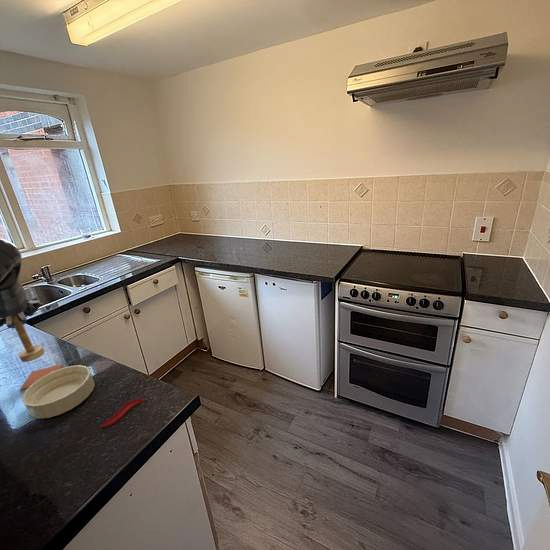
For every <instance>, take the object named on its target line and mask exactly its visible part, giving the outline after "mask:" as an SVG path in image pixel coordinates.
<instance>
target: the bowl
mask: <svg viewBox="0 0 550 550" xmlns="http://www.w3.org/2000/svg"><path fill="white" fill-rule="evenodd" d="M95 385H96V383H95V379H94V377H93V375H92V372H91V369H90V368H89V367H87V366H86V365H81V364H78V365H77V364H75V365H69V366H65V367H62V368H61V369H59V370H56V371H53V372H51V373H49V374H47V375H45V376H43V377H42V378H40V379H39V380H37V381H36V382H34V383H33V384H32V385H31V386H30V387H29V388H28V389H25V390H24V393H23V394H22V399H21V401H22V403H23V405H24V407H25V409H26V411H27V413H28V414H29V415H30V417H31V418H34V419H39V420H40V419H50V418H53V417H56V416H59V415H62V414H64V413H67V412H68V411H70V410H73V409H74V408H75V407H77V406H79V405H80V404H82V403H83V402H84V401H85V400H86V399H87V398H89V396H90V395H91V393H92V392H93V391H94V388H95Z"/></svg>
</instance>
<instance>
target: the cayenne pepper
mask: <svg viewBox="0 0 550 550" xmlns="http://www.w3.org/2000/svg"><path fill="white" fill-rule="evenodd" d="M145 402H147V399H145V398H137V399H136V398H135V399H131V400H129V401H127V402H125V403H124V404H123V405H122V406H121V407H120V408H119V409H118V411H116V412H115V413H114V414H112V415H111V416H110V417H109V418H107V420H106V421H105V422H104V423H102V424H101V425H99V426H98V427H99V429H101V428H107V427H111V426H113V425H114V424H117V422H119V421H120V420H122V419H123V418H124V417H125V416H126V415H127V413H128V412H130V411H131V410H132V409H133V408H134V407H135V406H137V405H139V404H141V403H145Z"/></svg>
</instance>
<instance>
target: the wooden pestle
mask: <svg viewBox="0 0 550 550" xmlns="http://www.w3.org/2000/svg"><path fill="white" fill-rule="evenodd" d="M12 322H13V324H14V327H15V328H14V329H15V331H16V333H17V335H18V337H19V339H20V342H21V344H22V346H23V348H24V349H23V350H21V351H20V352H19V353H18V357H19V359H20V361H21V362H22V363H27V362H32V361H35V360H37V359H38V358H41V356H43V355H44V354H45V348H44V347H43V345H41V344H35V345H33V343H32V341H31V339H30V336H29V334H28V332H27V331H26V328H25V326H24V325H23V324H22V322H21V320H20V318H19V315H17V316H14V317H12Z"/></svg>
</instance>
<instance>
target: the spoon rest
mask: <svg viewBox="0 0 550 550" xmlns="http://www.w3.org/2000/svg"><path fill="white" fill-rule="evenodd" d="M63 366H64V365H63V363H61V364H57V365H53V366H49V367H48V366H47V367H45V368H44V367H43V368H40V369H36V370H33V371H31V372H30V373H29V375H28V376H27V378H26V379H25V380H24V382H23V384H22V385H21V386H20V388H19V391H26V390H27V389H28V388H29V387H30V386H31V385H32V384H33V383H34V382H36V381H37V380H39V379H40V378H42V377H43V376H45V375H47V374H49V373H51V372H53V371H56V370H59V369H61V368H63Z"/></svg>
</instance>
